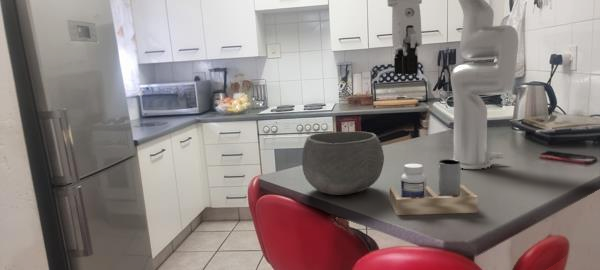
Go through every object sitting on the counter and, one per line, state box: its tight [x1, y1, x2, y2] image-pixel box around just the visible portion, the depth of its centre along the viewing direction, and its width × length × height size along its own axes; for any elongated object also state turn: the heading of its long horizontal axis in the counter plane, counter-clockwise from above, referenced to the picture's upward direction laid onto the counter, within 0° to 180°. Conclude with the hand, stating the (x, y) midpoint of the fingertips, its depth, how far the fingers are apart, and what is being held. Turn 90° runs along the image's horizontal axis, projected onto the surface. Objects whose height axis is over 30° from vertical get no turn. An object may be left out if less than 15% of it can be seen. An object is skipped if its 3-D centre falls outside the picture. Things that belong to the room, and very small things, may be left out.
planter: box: [438, 158, 462, 196], centre depth 89 cm, size 4×4×10 cm
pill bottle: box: [400, 163, 427, 198], centre depth 90 cm, size 5×5×10 cm
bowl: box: [301, 131, 385, 196], centre depth 103 cm, size 21×21×15 cm
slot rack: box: [389, 184, 479, 216], centre depth 90 cm, size 17×9×4 cm, turn 87°
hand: (405, 73), depth 93 cm, fingers open, 9 cm apart
